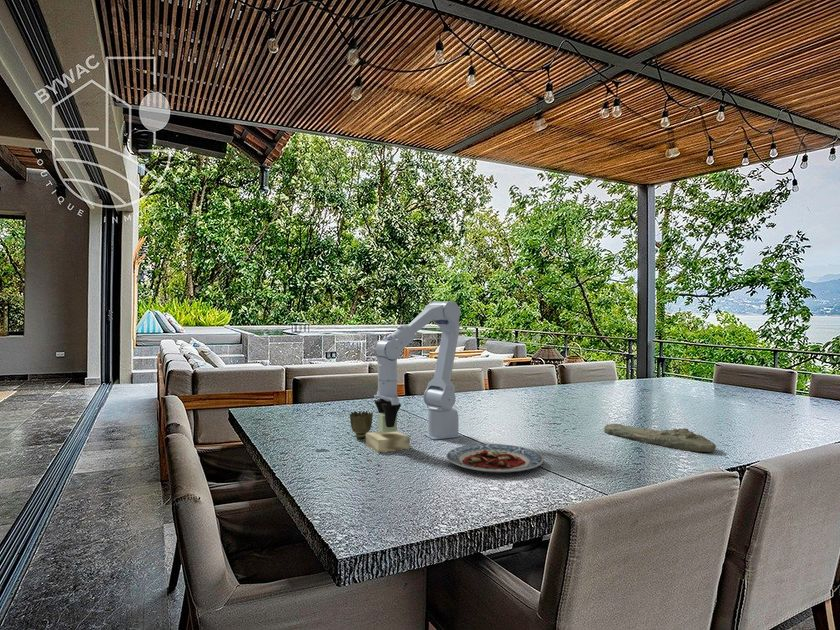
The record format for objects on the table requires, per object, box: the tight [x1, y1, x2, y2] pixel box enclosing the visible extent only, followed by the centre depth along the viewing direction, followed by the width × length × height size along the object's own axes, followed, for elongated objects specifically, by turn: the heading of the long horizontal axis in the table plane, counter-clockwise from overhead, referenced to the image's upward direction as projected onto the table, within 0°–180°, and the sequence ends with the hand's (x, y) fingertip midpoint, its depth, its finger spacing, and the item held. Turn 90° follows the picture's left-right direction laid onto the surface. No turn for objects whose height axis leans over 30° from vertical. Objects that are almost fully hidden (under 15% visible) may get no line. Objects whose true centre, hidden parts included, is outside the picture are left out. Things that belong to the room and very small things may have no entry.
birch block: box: [365, 430, 411, 454], centre depth 159 cm, size 10×10×4 cm
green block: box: [377, 412, 398, 433], centre depth 158 cm, size 4×4×5 cm
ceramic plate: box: [446, 443, 545, 474], centre depth 142 cm, size 26×26×3 cm
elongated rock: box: [603, 423, 717, 453], centre depth 166 cm, size 35×5×10 cm
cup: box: [349, 410, 374, 440], centre depth 170 cm, size 8×7×8 cm
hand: (387, 425), depth 158 cm, fingers closed on green block, 4 cm apart
